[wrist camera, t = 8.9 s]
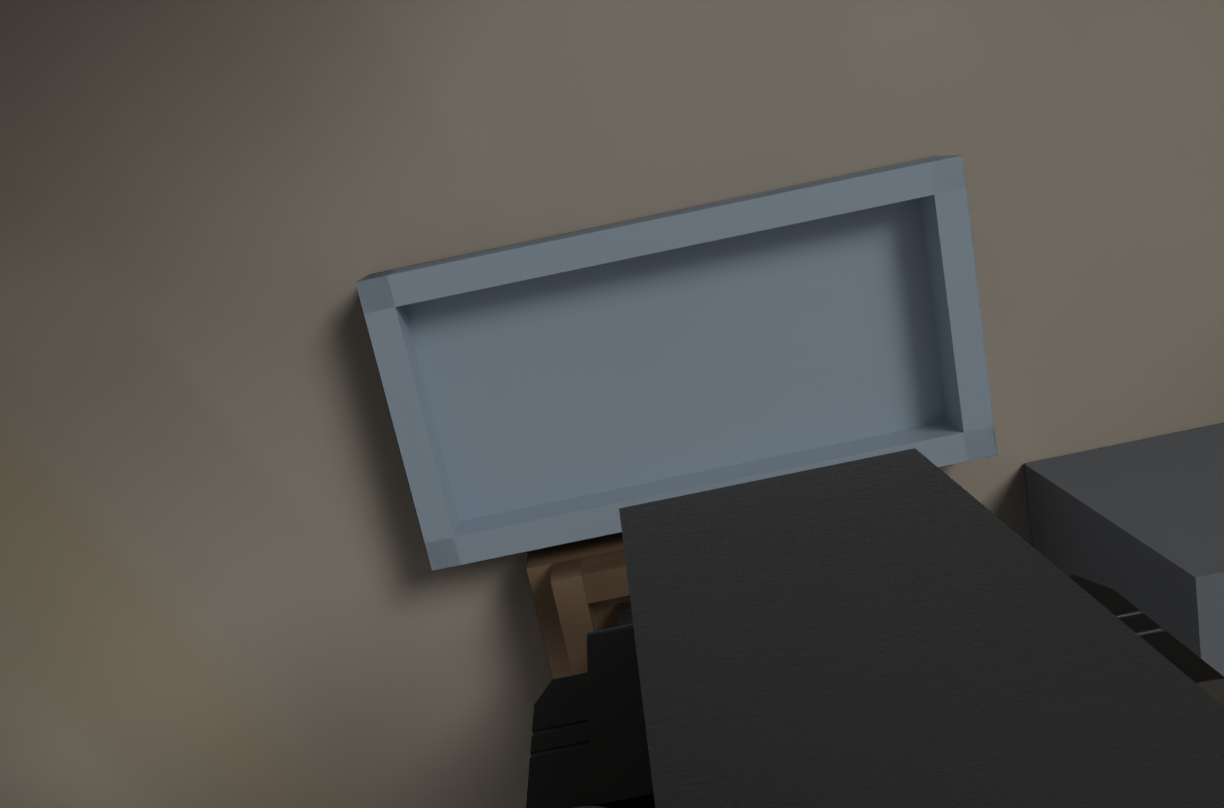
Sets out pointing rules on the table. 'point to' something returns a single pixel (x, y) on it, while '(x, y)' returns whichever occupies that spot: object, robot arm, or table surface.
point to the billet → (893, 657)
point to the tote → (682, 356)
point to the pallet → (577, 596)
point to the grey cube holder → (1142, 528)
